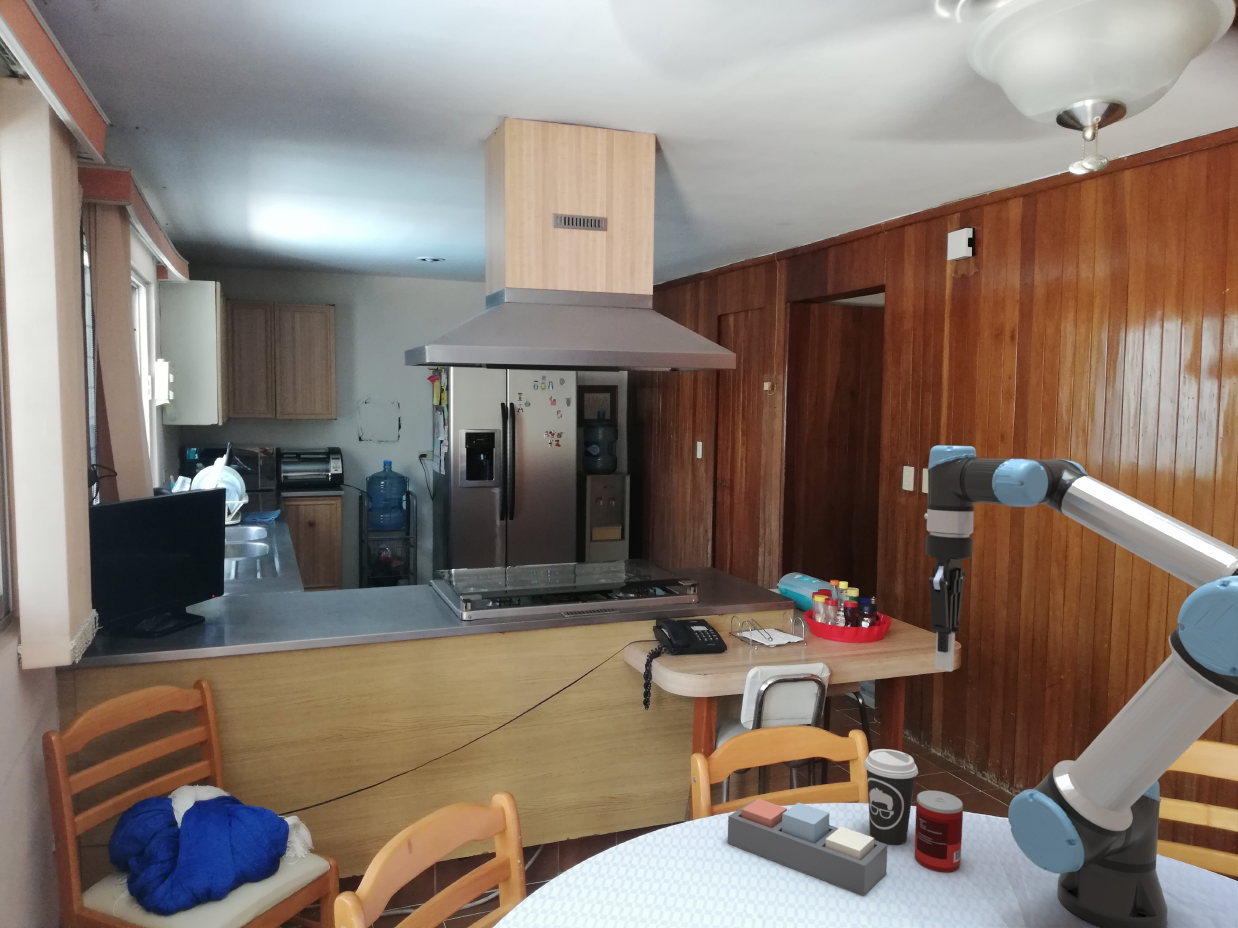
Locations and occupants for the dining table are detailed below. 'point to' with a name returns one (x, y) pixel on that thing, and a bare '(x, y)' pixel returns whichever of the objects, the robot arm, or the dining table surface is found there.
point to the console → (809, 854)
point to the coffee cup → (890, 794)
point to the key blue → (805, 822)
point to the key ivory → (850, 843)
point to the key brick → (763, 813)
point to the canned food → (938, 830)
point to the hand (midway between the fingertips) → (944, 669)
